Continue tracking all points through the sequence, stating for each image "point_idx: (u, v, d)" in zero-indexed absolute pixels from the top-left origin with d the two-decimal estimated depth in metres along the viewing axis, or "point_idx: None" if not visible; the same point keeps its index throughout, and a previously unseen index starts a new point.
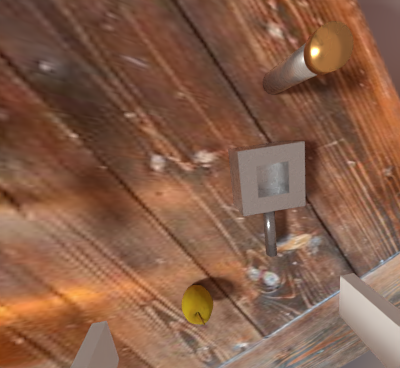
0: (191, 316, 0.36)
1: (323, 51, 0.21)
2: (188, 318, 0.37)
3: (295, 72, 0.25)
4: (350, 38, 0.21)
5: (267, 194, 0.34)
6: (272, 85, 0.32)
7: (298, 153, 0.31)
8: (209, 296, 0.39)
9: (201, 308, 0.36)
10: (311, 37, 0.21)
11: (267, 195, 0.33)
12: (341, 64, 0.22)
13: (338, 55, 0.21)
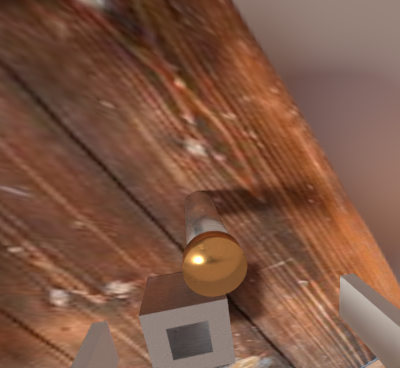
0: None
1: (202, 276, 0.14)
2: None
3: None
4: (242, 257, 0.14)
5: (188, 349, 0.27)
6: None
7: (220, 311, 0.25)
8: None
9: None
10: (185, 253, 0.14)
11: (186, 354, 0.26)
12: (232, 287, 0.15)
13: (226, 278, 0.15)
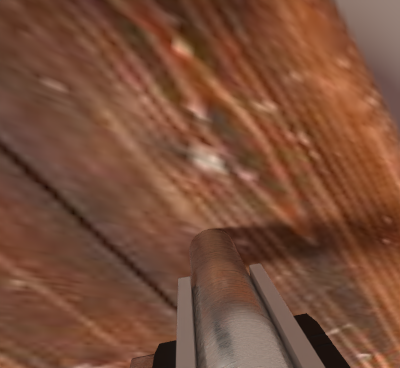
0: None
1: None
2: None
3: None
4: None
5: None
6: None
7: None
8: None
9: None
10: None
11: None
12: None
13: None
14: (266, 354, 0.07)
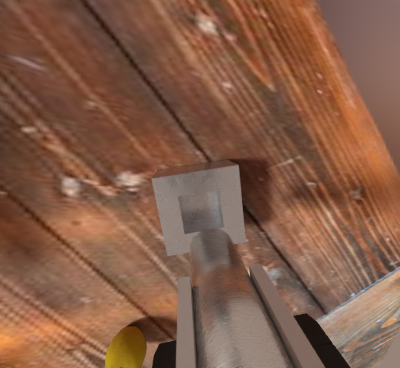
0: None
1: None
2: None
3: None
4: None
5: (199, 228, 0.27)
6: None
7: (231, 179, 0.25)
8: (140, 344, 0.32)
9: (124, 363, 0.30)
10: None
11: (197, 230, 0.26)
12: None
13: None
14: (264, 349, 0.07)
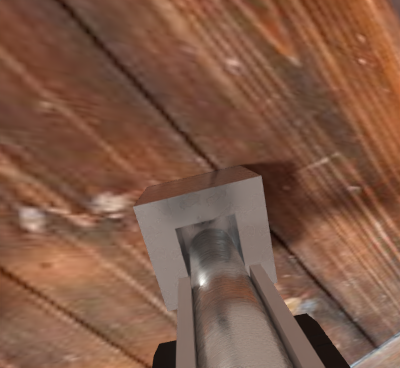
0: None
1: None
2: None
3: None
4: None
5: None
6: None
7: (252, 198, 0.17)
8: None
9: None
10: None
11: None
12: None
13: None
14: (263, 347, 0.07)
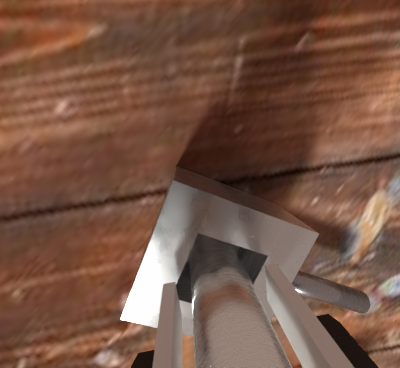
0: None
1: None
2: None
3: None
4: None
5: None
6: None
7: (193, 204, 0.12)
8: None
9: None
10: None
11: None
12: None
13: None
14: (259, 342, 0.08)
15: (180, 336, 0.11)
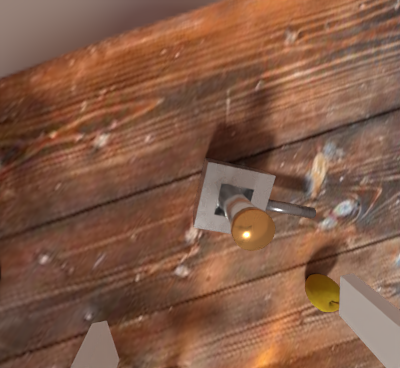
0: (330, 309, 0.37)
1: (246, 236, 0.22)
2: (330, 311, 0.38)
3: None
4: (270, 221, 0.21)
5: None
6: None
7: (218, 170, 0.30)
8: (322, 281, 0.39)
9: (327, 299, 0.37)
10: (232, 223, 0.22)
11: None
12: (267, 242, 0.22)
13: (262, 236, 0.22)
14: (246, 203, 0.25)
15: None
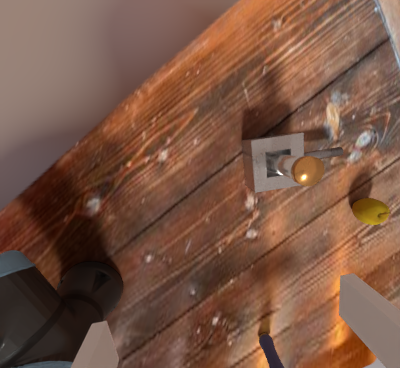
0: (380, 220, 0.46)
1: (305, 177, 0.31)
2: (381, 222, 0.46)
3: None
4: (318, 160, 0.31)
5: None
6: (272, 171, 0.42)
7: (260, 144, 0.39)
8: (366, 202, 0.47)
9: (375, 213, 0.45)
10: (293, 172, 0.31)
11: None
12: (321, 176, 0.31)
13: (316, 173, 0.31)
14: (294, 157, 0.34)
15: None
